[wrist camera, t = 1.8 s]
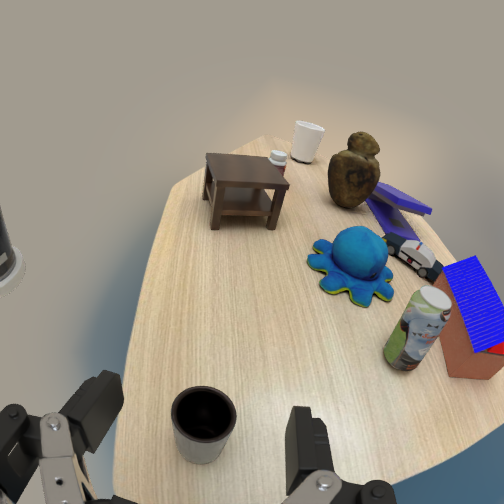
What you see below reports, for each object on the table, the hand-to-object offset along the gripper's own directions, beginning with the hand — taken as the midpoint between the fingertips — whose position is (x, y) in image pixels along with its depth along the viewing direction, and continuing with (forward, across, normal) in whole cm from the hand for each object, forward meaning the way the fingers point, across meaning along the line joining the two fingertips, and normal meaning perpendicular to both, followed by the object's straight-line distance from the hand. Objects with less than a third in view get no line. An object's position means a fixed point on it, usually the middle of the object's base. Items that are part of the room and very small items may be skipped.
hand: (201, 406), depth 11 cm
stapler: (+69, -35, -7) cm, 78 cm away
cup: (+90, -11, -19) cm, 93 cm away
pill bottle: (+67, -2, -10) cm, 67 cm away
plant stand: (+49, +4, -3) cm, 49 cm away
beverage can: (+24, -23, +11) cm, 35 cm away
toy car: (+48, -34, +2) cm, 59 cm away
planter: (+9, +2, +15) cm, 18 cm away
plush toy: (+40, -18, +4) cm, 44 cm away
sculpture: (+65, -21, -7) cm, 68 cm away
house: (+30, -40, +11) cm, 51 cm away
